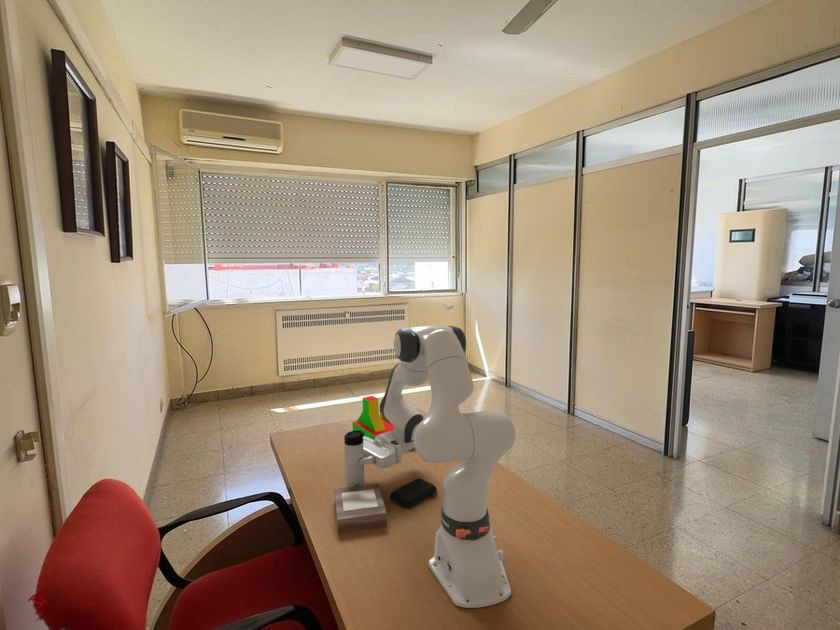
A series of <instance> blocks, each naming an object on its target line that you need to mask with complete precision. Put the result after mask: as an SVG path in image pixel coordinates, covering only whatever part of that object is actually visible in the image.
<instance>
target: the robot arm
mask: <svg viewBox="0 0 840 630" xmlns="http://www.w3.org/2000/svg"><path fill="white" fill-rule="evenodd" d="M393 349H394V353H395V356H396V358H397V359H398V360H399V362H398V363H396V364H395V365H394V367H393V369H392V370H391V373H390V376H389V380H388V381H387V382H388V383H387V386H386V390H385V392H384V396H383V397H382V399H381V401H380V404H379V414H380V415H382V416H383V417H384V418H386V419H387V420H388V421H389V422H390V423H391V424H392V425H393V426H394V427H395V428H394V430H393V431H388V432H386V433H383V434H380V435H377V436H376V437H375V439H374V440H373V439H371V438H368V437H363V445H364V458H360V459H358V464H359V465H361V466H362V465H364V466H365V465H372V464H373V465H374V466H376V467H378V468H380V469H387V468H390V467H392V466H394V465H397V464H401V462H402V453H406V452H409V451H411V450H412V449H415V451H416V454H418V456H419V457H420V458H421V459H422V460H423V461H424V462H427V463H437V464H441V463H442V464H445V463H447V464H448V463H452V462H458V461H459V463H457V464H456V465H455V466H454V467H453V468H452V469H450V470H449V471H448V472H447V473H446V475H445V476H444V479H443V481H442V505H441V510H440V523H441V525H440V526H439V529H438V530H436V533H435V536H434V537H435V538H434V541H435V542H434V555H433V557H432V558H430V559H429V561H428V568H429V569H430V571H431V572H432V574H433V575H434V576H435V578H436V580H438V582H439V584H440V585H441V587H442V588H443V589H444V592H446V595H447V596H448V597H449V598H450V600H451V601H452V603H453V604H454V605H455V606H457V607H460V608H466V609H467V608H468V609H473V608H474V609H477V608H483V607H490V606H493V605H496V604H500V603H502V602H504V601H506V600H507V599H509V598H510V596H511V595H512V588H511V585H510V582H509V579H508V576H507V572H506V570H505V567H504V564H503V561H504V560H505V554H504V551H503V550H502V549H498V548H497V547H496V543H497V542H498V541H497V540H498V538H497V535H493V531H492V525H491V523H490V522H491V521H490V514H489V509H488V506H487V505H488V494H489V493H488V490H489V484H490V480H491V477H492V473H493V472H494V470H495V468H496V466H497V464H498V463H499V461H501V459H502V458H503V456H504V455H506V454H507V453H508V452H509V451H510V450H512V448H513V446H514V444H515V443H516V442H515V441H516V436H517V435H516V427H515V425H514V423H513V420H512V419H511V417H509V415H507V414H506V413H504V412H502V411H492V410H485V411H475V412H474V411H473V412H466V413H463V412H462V413H461V411H460V408H459V405H461V404H462V403H464V402H466V401H467V400H468V399H469V398H470V397H471V396H472V394H473V391H474V382H473V378H472V377H473V376H472V374H471V371H470V367H469V363H468V360H467V357H466V354H465V353H466V349H467V339H466V334H465V332H464V331H463V330H462V329H461V328H460V327H458V326H453V325H448V326H446V325H443V326H442V325H441V326H440V325H416V326H412V327H410V326H407V327H406V326H405V327H402V328H400V329H398V330H397V331H396V333H395V336H394V339H393ZM428 381H429V384H430V385H429V386H430V391H431V403H430V407H429V410H428V412H427V414H426V416H423V415H422V414H421V412H419V411H418V409H416V408H415V407H414V406H412V404H410V402H408V401H407V400H406V399H405V398H404V395H403V394H402V393H403V389H404V386H405V385H406V386H409V387H410V386H411V387H417V386H421V385H423V384H424V385H425V384H426V383H427V382H428Z"/></svg>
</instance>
